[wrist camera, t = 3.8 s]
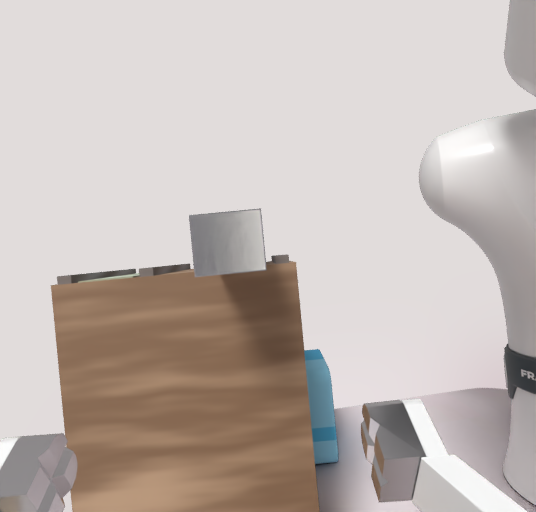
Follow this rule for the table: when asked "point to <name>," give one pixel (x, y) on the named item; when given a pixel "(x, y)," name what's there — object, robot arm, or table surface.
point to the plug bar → (227, 242)
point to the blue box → (321, 408)
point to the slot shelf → (186, 390)
